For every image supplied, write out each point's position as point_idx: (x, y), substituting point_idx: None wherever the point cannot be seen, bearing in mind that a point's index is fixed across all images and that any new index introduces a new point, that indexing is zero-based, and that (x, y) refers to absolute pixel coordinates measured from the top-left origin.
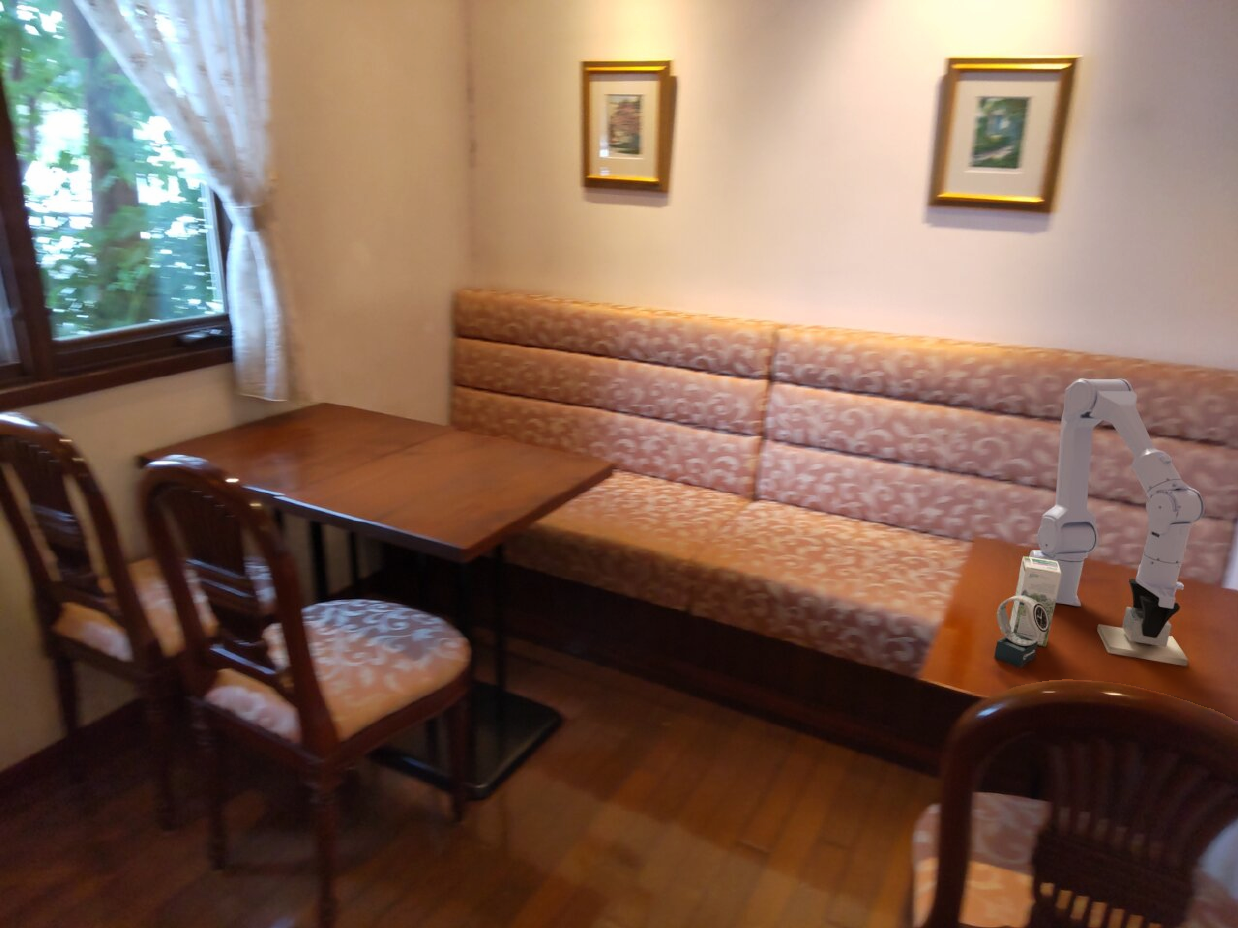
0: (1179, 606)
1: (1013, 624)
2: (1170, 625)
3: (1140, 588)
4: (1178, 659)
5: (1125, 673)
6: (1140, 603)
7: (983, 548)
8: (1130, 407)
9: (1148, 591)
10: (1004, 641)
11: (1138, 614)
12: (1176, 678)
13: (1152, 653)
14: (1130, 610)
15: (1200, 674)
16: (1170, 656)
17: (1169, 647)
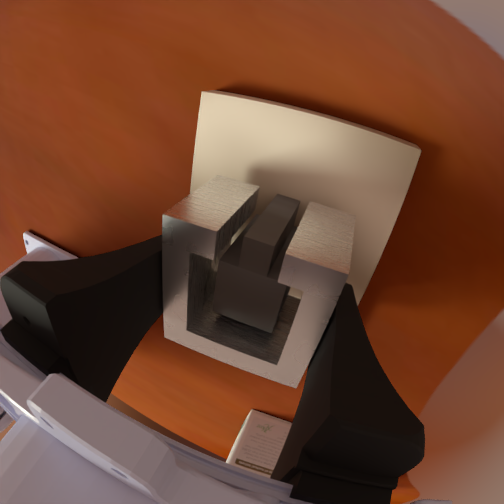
0: (407, 444)
1: None
2: (344, 277)
3: (99, 377)
4: (409, 182)
5: (440, 362)
6: (145, 313)
7: None
8: None
9: (98, 345)
10: None
11: (195, 302)
12: (490, 246)
13: (373, 264)
14: (199, 348)
15: (472, 133)
16: (395, 208)
17: (314, 161)
